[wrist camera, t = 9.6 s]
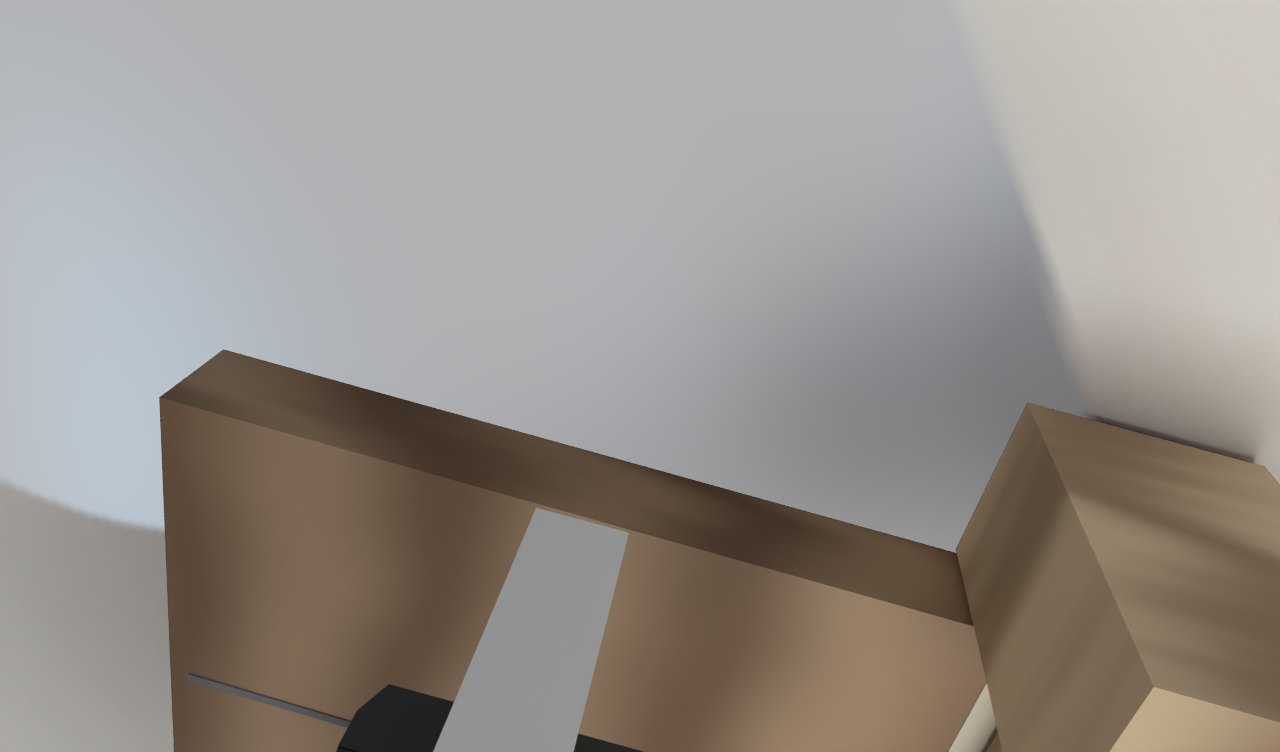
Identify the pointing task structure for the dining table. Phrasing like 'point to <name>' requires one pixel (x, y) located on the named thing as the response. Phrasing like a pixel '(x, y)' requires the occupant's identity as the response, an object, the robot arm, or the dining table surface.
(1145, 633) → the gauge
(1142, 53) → the dining table surface
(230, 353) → the board
